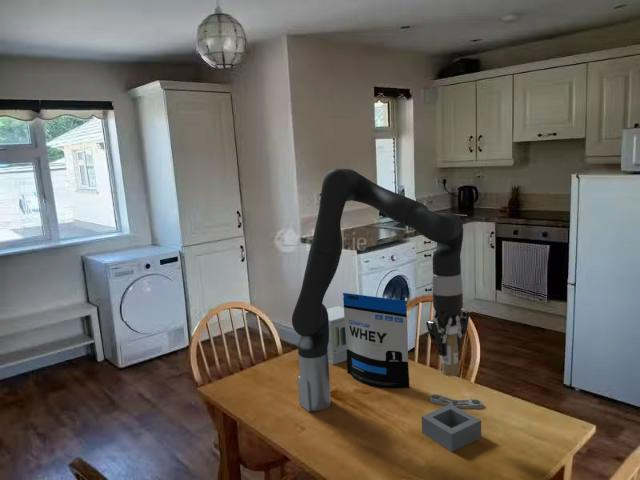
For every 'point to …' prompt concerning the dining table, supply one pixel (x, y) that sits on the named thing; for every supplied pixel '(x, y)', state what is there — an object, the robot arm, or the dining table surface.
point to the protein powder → (377, 340)
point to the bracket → (455, 402)
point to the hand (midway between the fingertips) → (449, 352)
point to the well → (451, 438)
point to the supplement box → (336, 336)
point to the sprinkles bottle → (451, 353)
